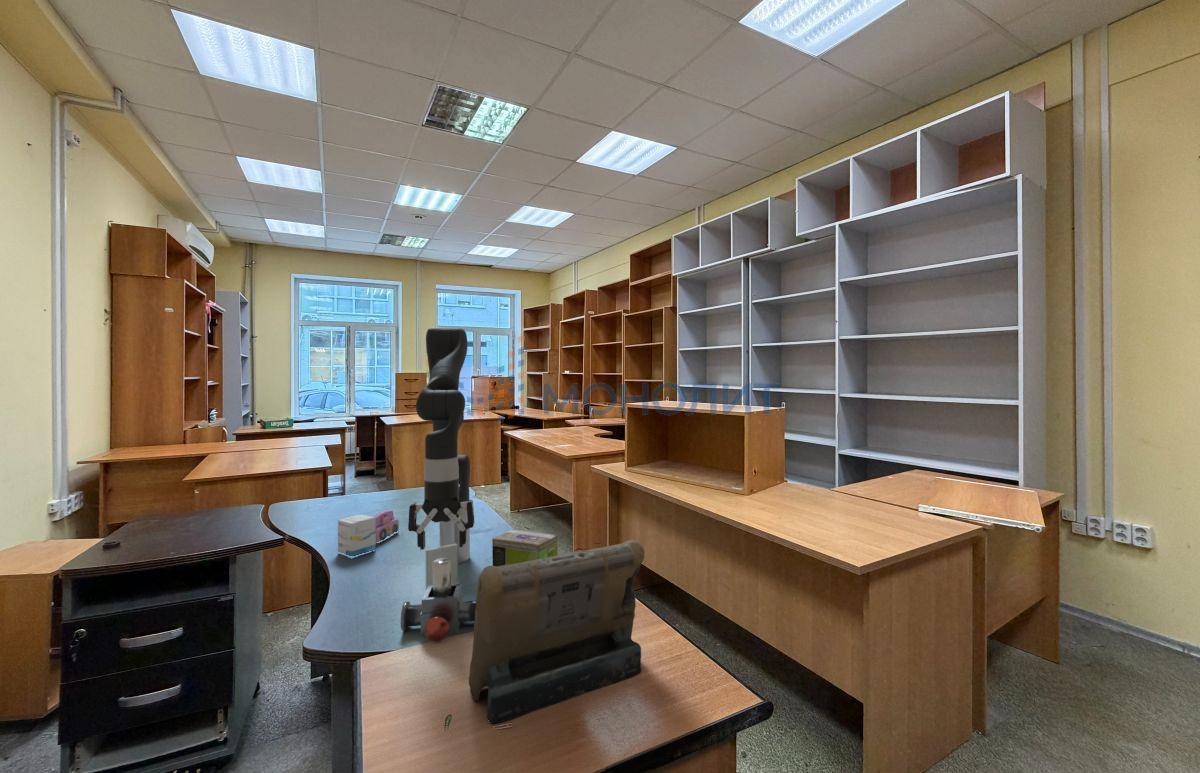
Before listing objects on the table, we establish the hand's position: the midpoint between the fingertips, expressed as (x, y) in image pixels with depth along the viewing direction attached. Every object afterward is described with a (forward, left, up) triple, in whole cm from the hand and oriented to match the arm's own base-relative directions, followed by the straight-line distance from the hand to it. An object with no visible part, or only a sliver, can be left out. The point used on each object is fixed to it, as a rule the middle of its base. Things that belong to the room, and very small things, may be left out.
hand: (442, 547), depth 109 cm
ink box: (-55, -36, -18) cm, 68 cm away
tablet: (+25, +25, -18) cm, 40 cm away
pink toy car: (-71, -31, -19) cm, 80 cm away
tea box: (-16, +19, -18) cm, 31 cm away
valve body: (0, 0, -18) cm, 18 cm away
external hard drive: (-18, -3, -18) cm, 26 cm away
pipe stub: (0, 0, -13) cm, 13 cm away
